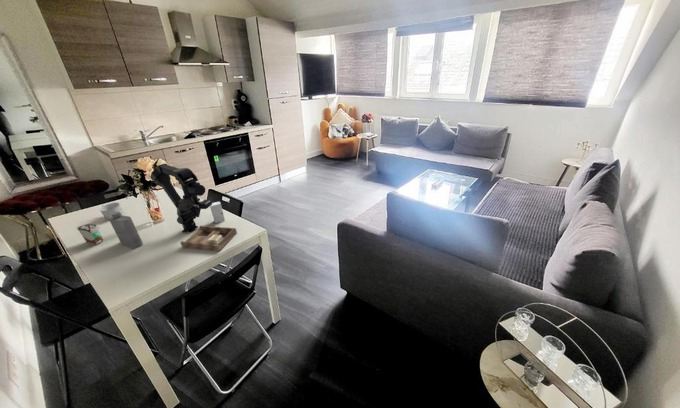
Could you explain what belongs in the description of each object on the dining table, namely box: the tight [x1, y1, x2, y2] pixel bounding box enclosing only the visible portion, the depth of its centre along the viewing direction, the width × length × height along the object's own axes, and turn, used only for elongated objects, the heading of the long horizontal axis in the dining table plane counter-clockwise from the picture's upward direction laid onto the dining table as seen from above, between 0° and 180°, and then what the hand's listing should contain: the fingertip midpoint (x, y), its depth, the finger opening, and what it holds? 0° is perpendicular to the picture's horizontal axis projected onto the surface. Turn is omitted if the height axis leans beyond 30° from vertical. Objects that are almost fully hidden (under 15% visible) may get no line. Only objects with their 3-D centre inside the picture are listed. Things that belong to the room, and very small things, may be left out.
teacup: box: [98, 201, 124, 219], centre depth 176 cm, size 14×11×8 cm
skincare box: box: [209, 201, 226, 224], centre depth 165 cm, size 6×4×12 cm
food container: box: [76, 223, 104, 246], centre depth 150 cm, size 12×6×10 cm, turn 71°
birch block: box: [208, 235, 223, 245], centre depth 143 cm, size 5×5×3 cm
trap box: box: [180, 225, 238, 252], centre depth 148 cm, size 23×17×4 cm
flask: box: [107, 212, 144, 249], centre depth 144 cm, size 15×6×20 cm, turn 66°
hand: (198, 217), depth 148 cm, fingers closed
